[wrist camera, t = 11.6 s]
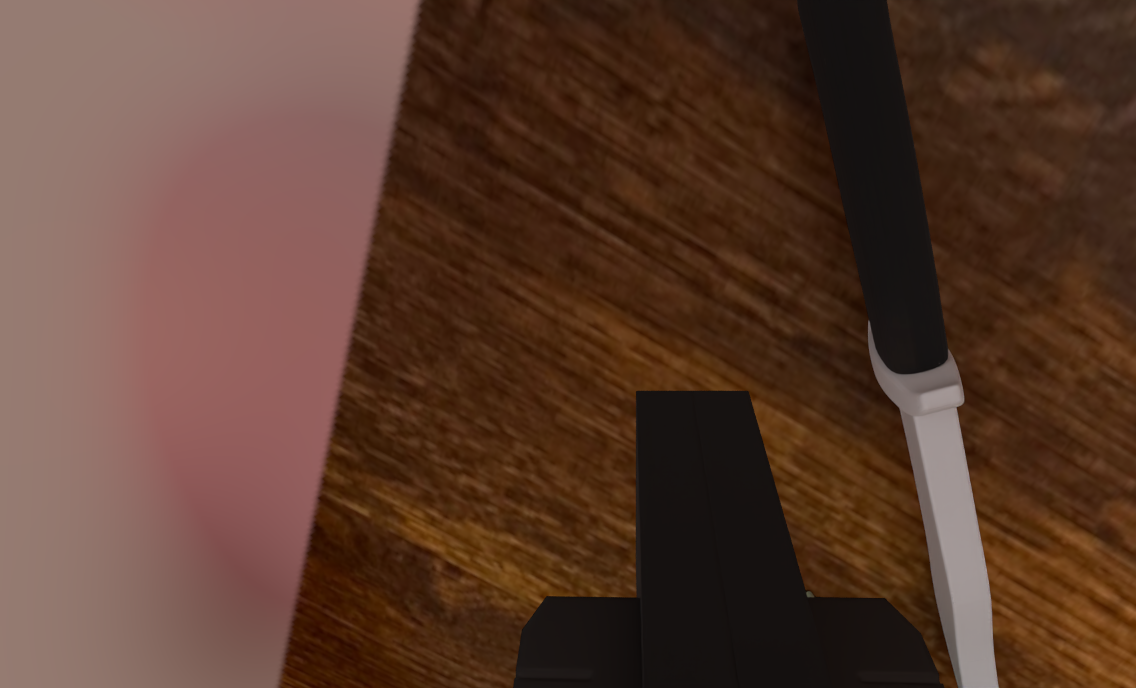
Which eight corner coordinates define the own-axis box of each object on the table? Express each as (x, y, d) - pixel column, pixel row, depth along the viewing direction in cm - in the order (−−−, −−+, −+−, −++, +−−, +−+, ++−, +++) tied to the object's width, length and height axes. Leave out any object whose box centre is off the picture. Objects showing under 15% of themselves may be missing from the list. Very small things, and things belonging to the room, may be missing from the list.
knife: (996, 702, 30) (1064, 837, 25) (942, 712, 30) (999, 848, 25) (834, -79, 21) (894, -91, 16) (760, -53, 21) (798, -57, 16)
